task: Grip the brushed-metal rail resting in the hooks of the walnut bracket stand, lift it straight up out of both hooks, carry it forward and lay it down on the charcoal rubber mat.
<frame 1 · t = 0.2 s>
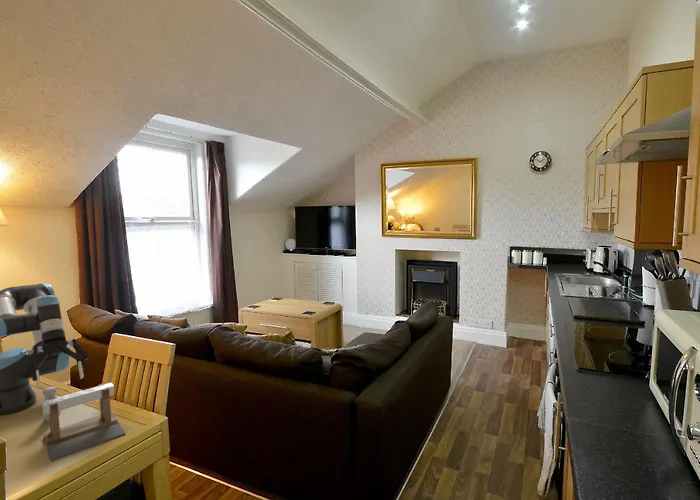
hand: (61, 382, 152), 16 cm above the table, tool tilted 35°, fingers open, 13 cm apart
bracket stand: (82, 429, 147), on the table
rubber mat: (87, 441, 140), on the table
metal rail: (79, 402, 146), point 11 cm above the table, touching bracket stand
salt shaker: (51, 419, 155), on the table
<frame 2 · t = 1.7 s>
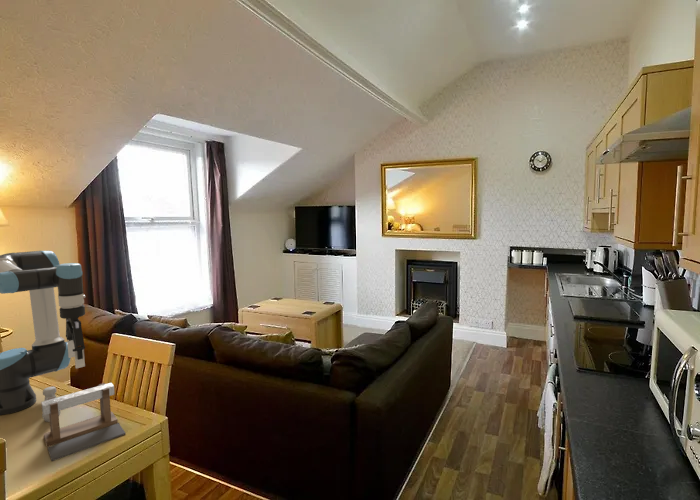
hand: (76, 361, 144), 27 cm above the table, tool pointing down, fingers open, 13 cm apart
nothing on the table moved.
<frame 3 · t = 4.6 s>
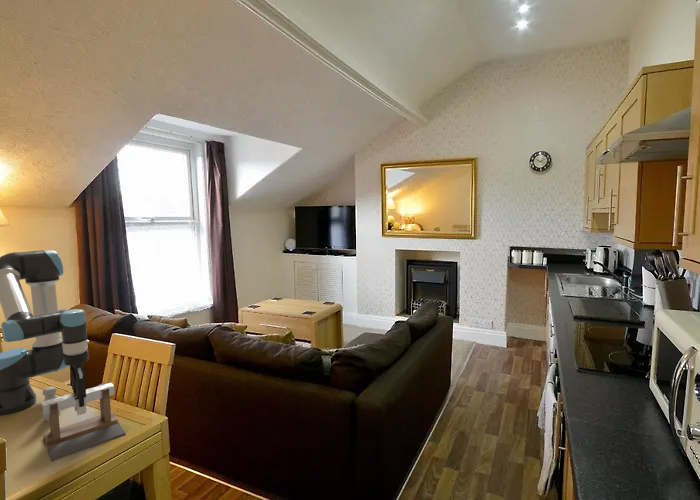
hand: (80, 411, 146), 7 cm above the table, tool pointing down, fingers closed on metal rail, 4 cm apart
metal rail: (79, 402, 146), point 11 cm above the table, touching bracket stand, gripper
everything else where it was.
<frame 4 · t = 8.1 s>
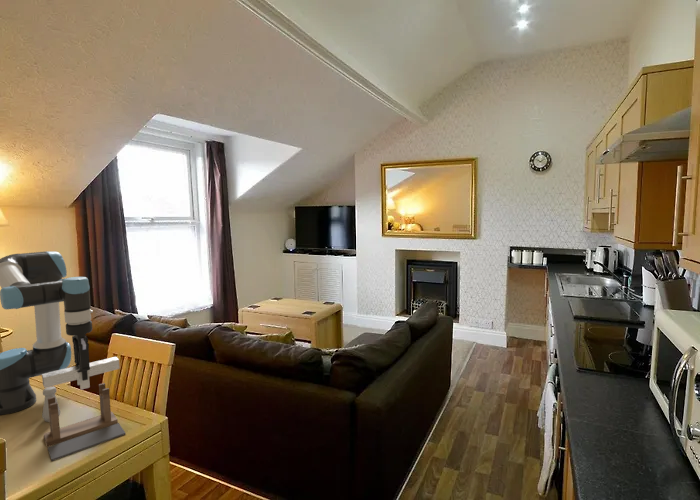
hand: (83, 385, 138), 21 cm above the table, tool pointing down, fingers closed on metal rail, 4 cm apart
metal rail: (82, 375, 137), point 25 cm above the table, touching gripper
everything else where it was.
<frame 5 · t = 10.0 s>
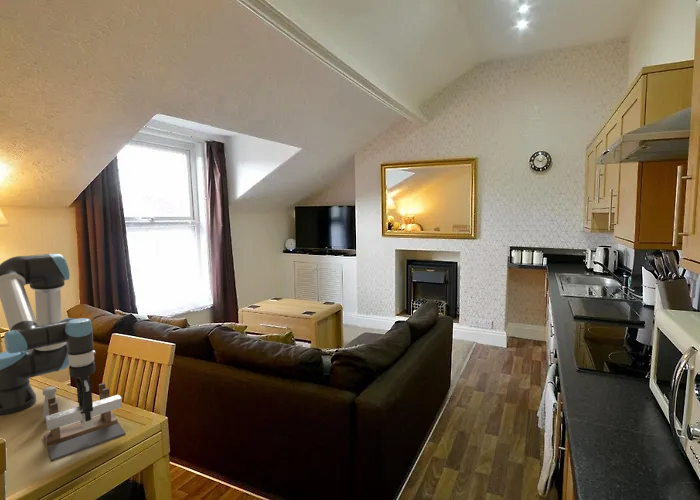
hand: (86, 425, 139), 6 cm above the table, tool pointing down, fingers closed on metal rail, 4 cm apart
metal rail: (86, 416, 139), point 10 cm above the table, touching gripper
everything else where it was.
when the fingers open (1 cm above the table, at t = 11.5 s): metal rail drops 4 cm, resting on rubber mat.
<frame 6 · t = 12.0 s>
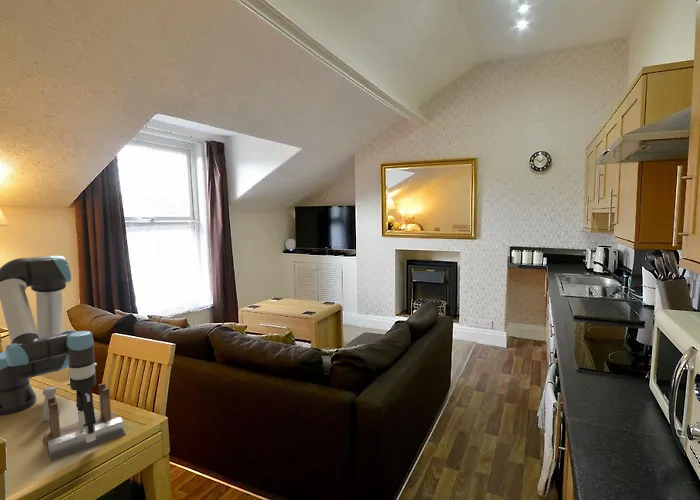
hand: (87, 434, 140), 3 cm above the table, tool pointing down, fingers open, 11 cm apart
metal rail: (87, 439, 140), point 1 cm above the table, touching rubber mat
everything else where it was.
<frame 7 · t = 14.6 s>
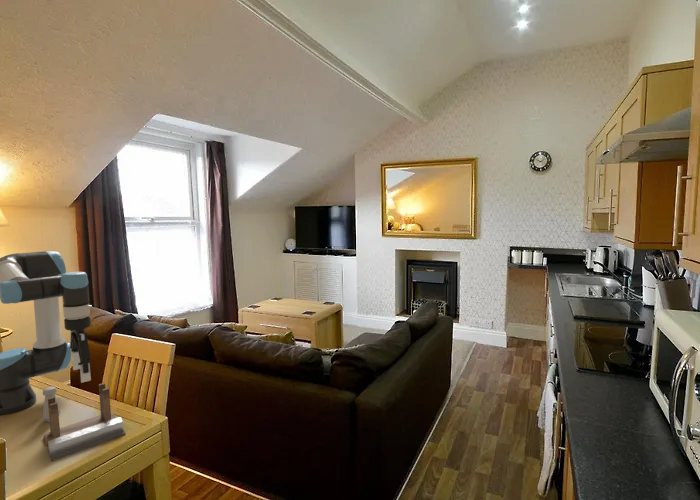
hand: (81, 375, 138), 25 cm above the table, tool pointing down, fingers open, 13 cm apart
nothing on the table moved.
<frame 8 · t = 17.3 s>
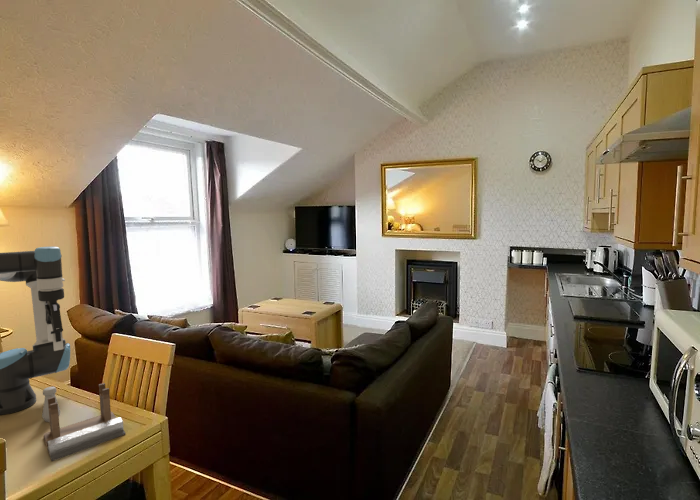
hand: (55, 345, 145), 33 cm above the table, tool pointing down, fingers open, 13 cm apart
nothing on the table moved.
at the end: metal rail inside the target area on the rubber mat (0.0 cm from its centre), point 0.6 cm above the rubber mat's base; metal rail touching rubber mat; the gripper is holding nothing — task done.
